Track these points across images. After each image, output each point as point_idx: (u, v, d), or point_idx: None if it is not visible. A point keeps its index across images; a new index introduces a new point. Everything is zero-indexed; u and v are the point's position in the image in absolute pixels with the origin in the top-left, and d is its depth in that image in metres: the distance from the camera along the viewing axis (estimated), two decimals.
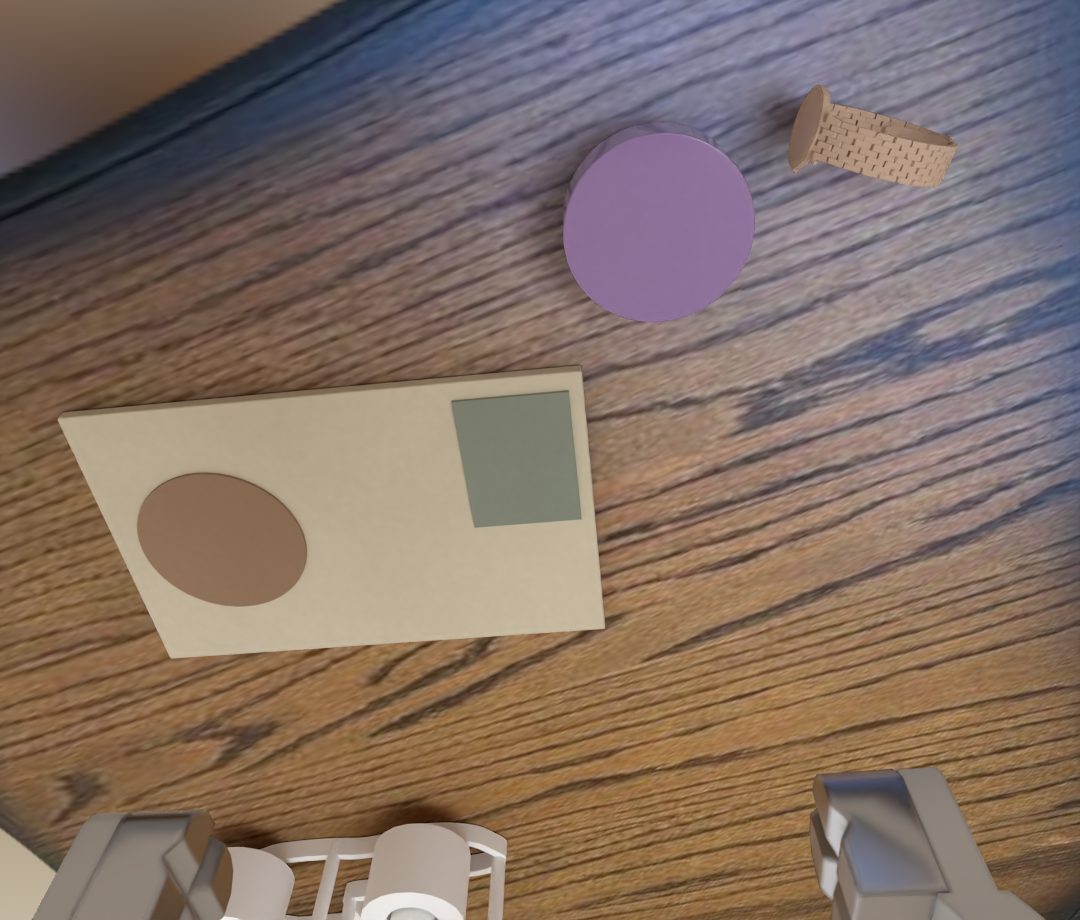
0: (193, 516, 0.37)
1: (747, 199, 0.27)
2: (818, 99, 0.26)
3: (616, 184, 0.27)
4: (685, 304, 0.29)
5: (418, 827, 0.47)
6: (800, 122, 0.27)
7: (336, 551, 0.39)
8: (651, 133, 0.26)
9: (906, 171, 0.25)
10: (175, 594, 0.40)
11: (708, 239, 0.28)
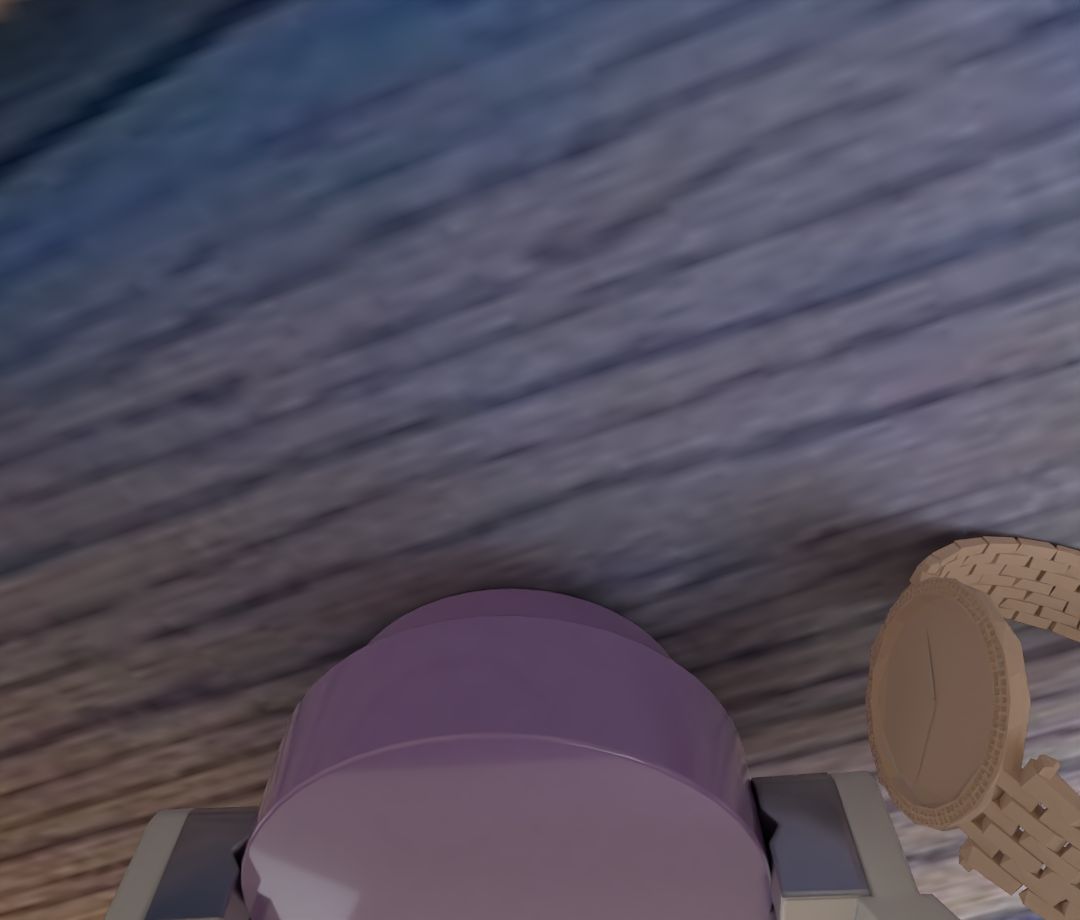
0: None
1: (752, 862, 0.10)
2: (978, 645, 0.08)
3: (370, 830, 0.09)
4: None
5: None
6: (905, 640, 0.09)
7: None
8: (456, 732, 0.09)
9: None
10: None
11: None
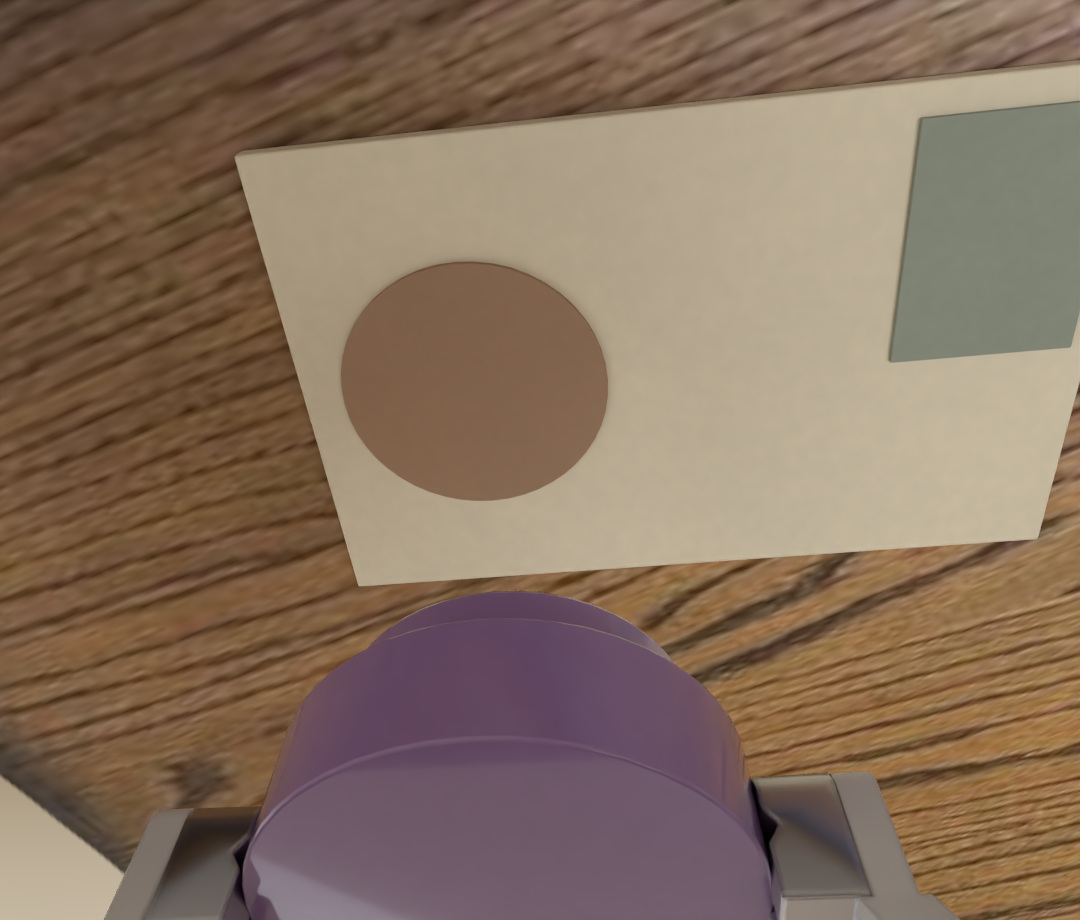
0: (436, 342, 0.23)
1: (753, 865, 0.10)
2: None
3: (371, 833, 0.09)
4: None
5: None
6: None
7: (653, 406, 0.24)
8: (457, 735, 0.09)
9: None
10: (382, 480, 0.26)
11: None
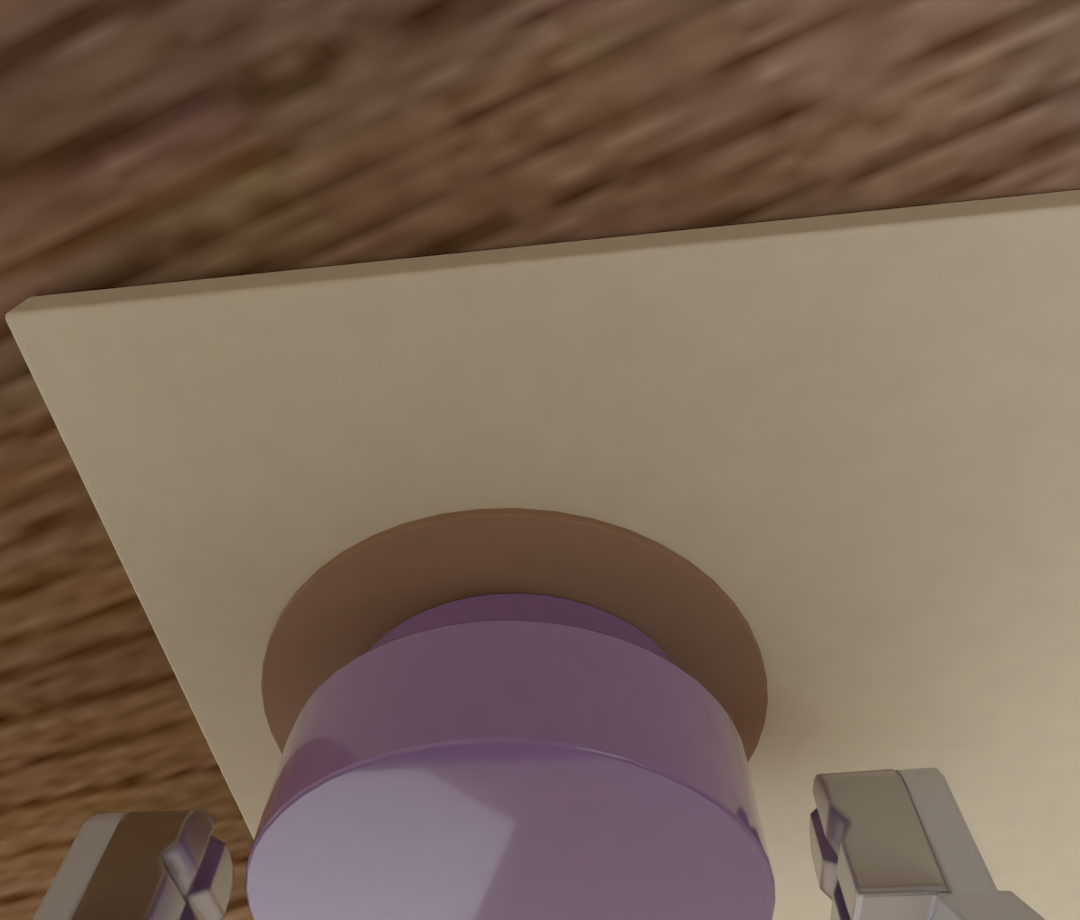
0: None
1: (754, 865, 0.10)
2: None
3: (374, 834, 0.09)
4: None
5: None
6: None
7: (845, 735, 0.13)
8: (460, 736, 0.09)
9: None
10: None
11: None
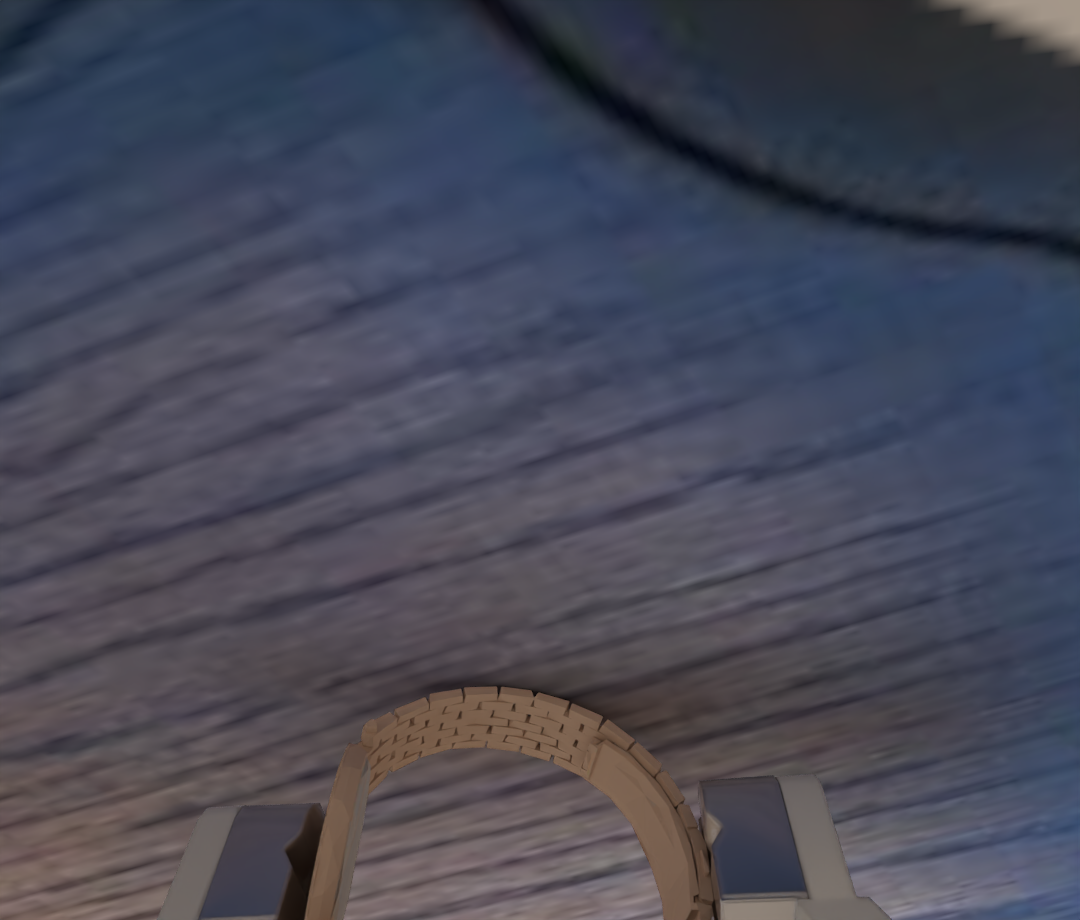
0: None
1: None
2: (336, 815, 0.10)
3: None
4: None
5: None
6: None
7: None
8: None
9: None
10: None
11: None
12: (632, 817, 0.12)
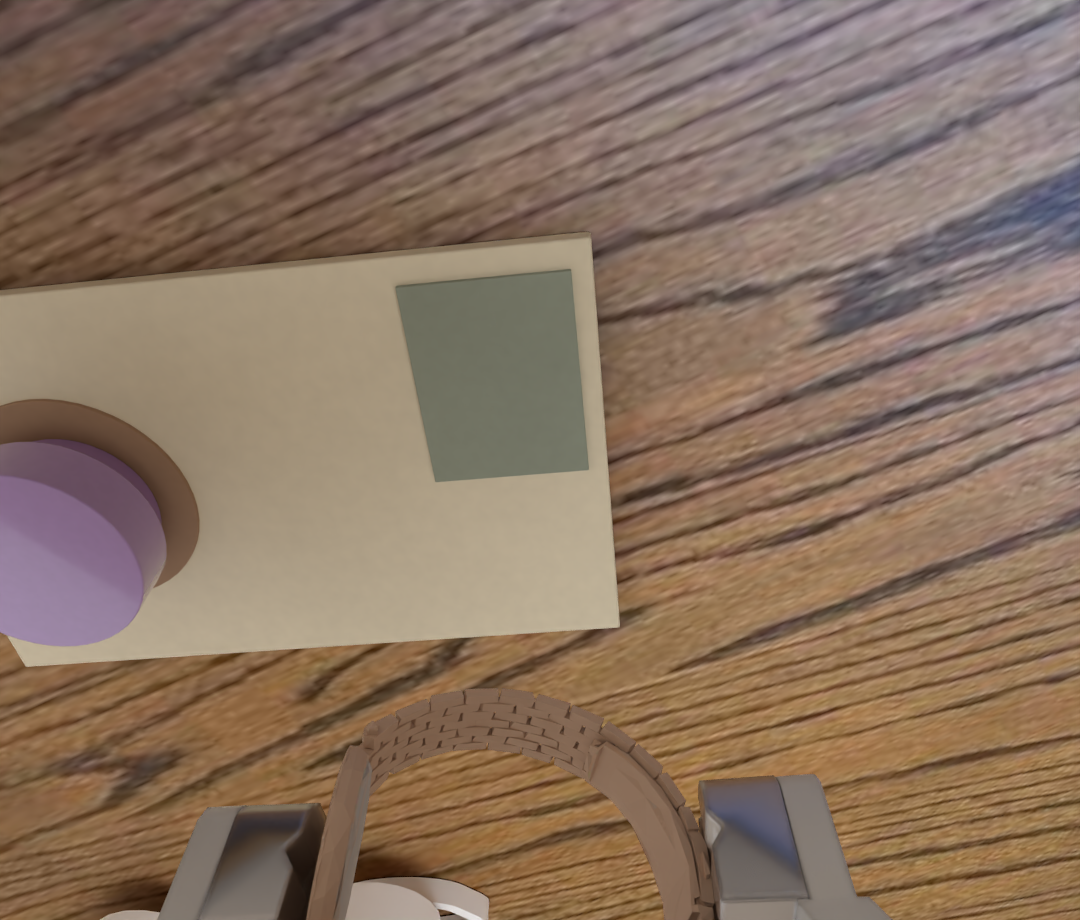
0: None
1: (116, 537, 0.24)
2: (337, 816, 0.10)
3: None
4: (93, 631, 0.26)
5: (371, 888, 0.36)
6: None
7: (240, 517, 0.27)
8: None
9: None
10: None
11: (90, 572, 0.24)
12: (633, 819, 0.12)
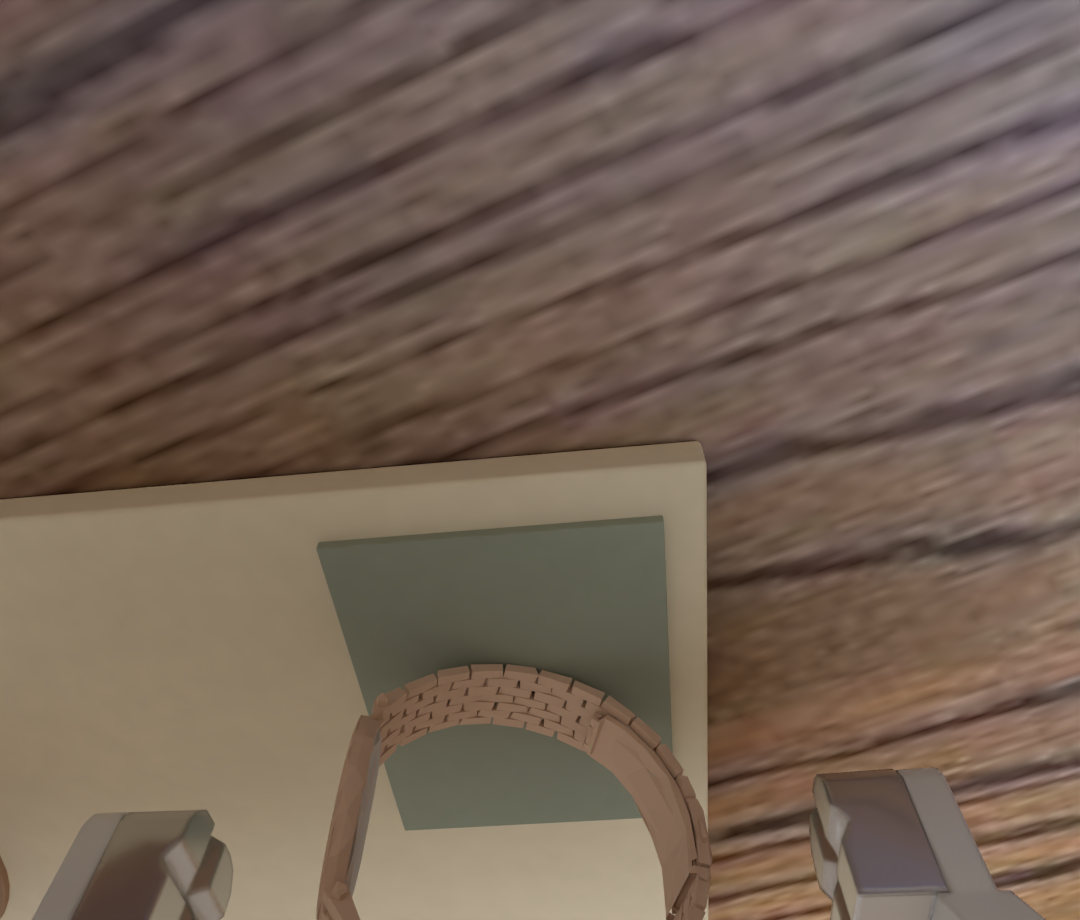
0: None
1: None
2: None
3: None
4: None
5: None
6: None
7: None
8: None
9: None
10: None
11: None
12: (633, 789, 0.12)
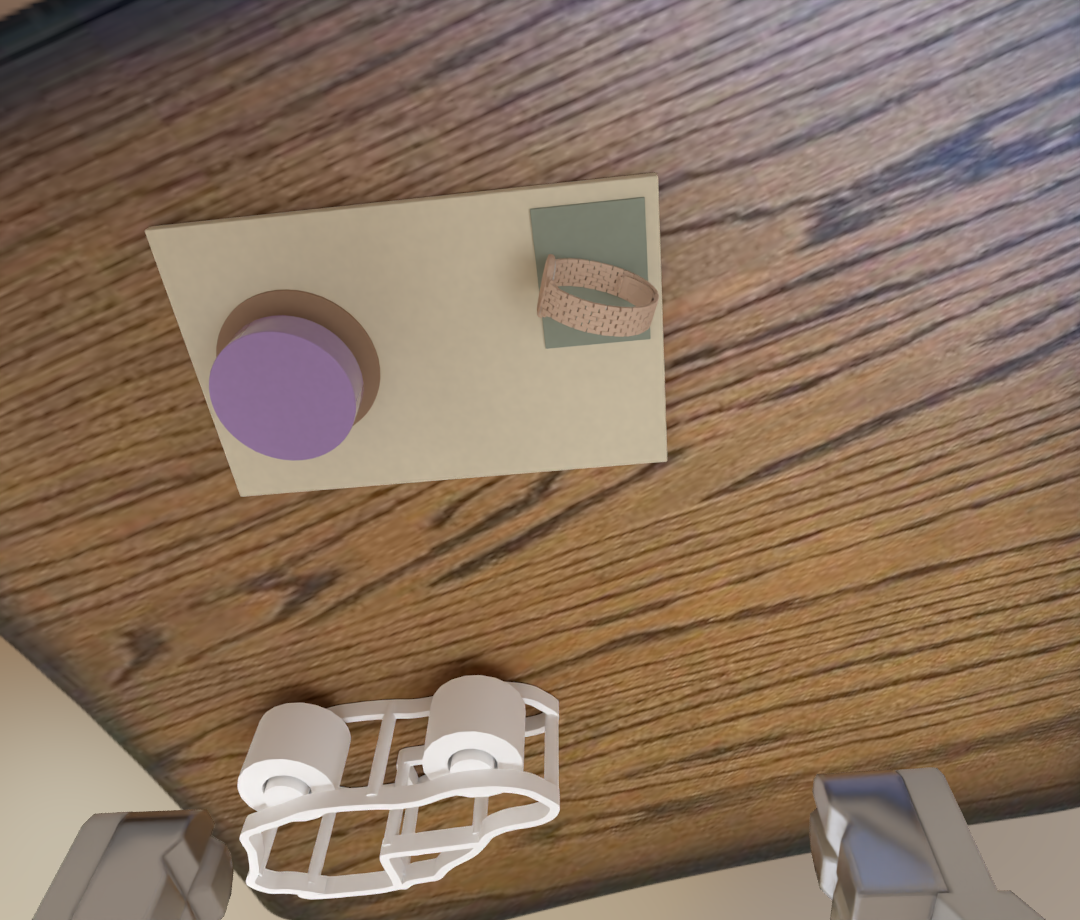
0: None
1: (343, 376, 0.36)
2: None
3: (241, 365, 0.36)
4: (316, 448, 0.38)
5: (476, 678, 0.48)
6: (544, 278, 0.35)
7: (409, 376, 0.40)
8: (260, 331, 0.35)
9: (607, 326, 0.33)
10: None
11: (321, 403, 0.37)
12: (634, 300, 0.36)
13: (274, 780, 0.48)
